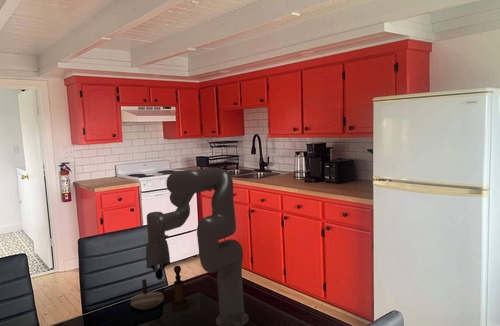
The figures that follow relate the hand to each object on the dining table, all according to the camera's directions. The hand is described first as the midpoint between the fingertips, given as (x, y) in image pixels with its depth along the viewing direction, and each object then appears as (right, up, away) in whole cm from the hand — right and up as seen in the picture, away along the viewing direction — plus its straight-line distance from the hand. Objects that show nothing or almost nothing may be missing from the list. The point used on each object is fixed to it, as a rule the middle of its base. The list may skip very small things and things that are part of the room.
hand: (159, 278), depth 175 cm
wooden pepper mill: (+12, -9, -12) cm, 19 cm away
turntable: (-3, -8, -8) cm, 11 cm away
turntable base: (-3, -9, -8) cm, 12 cm away
